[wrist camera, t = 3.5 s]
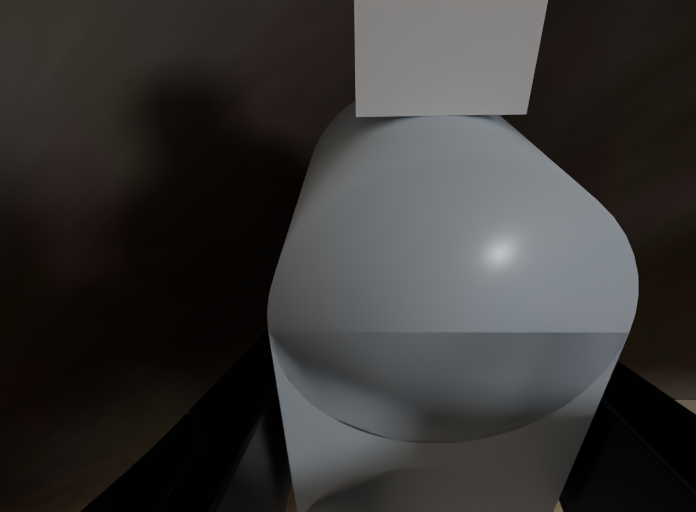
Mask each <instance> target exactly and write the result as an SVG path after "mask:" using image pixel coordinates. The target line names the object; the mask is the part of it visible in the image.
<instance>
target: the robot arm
mask: <svg viewBox="0 0 696 512" xmlns="http://www.w3.org/2000/svg"><path fill="white" fill-rule="evenodd" d="M291 481H292V477H291V470H290V464H289V458H288V452H287V445H286V439H285V433H284V426H283V420H282V414H281V408H280V401H279V395H278V389H277V383H276V376H275V370H274V364H273V357H272V351H271V345H270V339H269V332H268V329H267V330H266V331H265V332H264V333H263V334H262V335H261V337H260V338H259V339H258V340H257V341H256V342H255V343H254V344H253V345H252V346H251V347H250V348H249V349H248V350H247V351H246V352H245V353H244V354H243V355H242V356H241V357H240V358H239V359H238V360H237V361H236V363H235V364H234V365H233V366H232V367H231V368H230V369H229V370H228V371H227V372H226V373H225V374H224V375H223V376H222V377H221V378H220V379H219V380H218V381H217V382H216V383H215V384H214V385H213V386H212V387H211V388H210V390H209V391H208V392H207V393H206V394H205V395H204V396H203V397H202V398H201V399H200V400H199V401H198V402H197V403H196V404H195V405H194V406H193V407H192V408H191V409H190V410H189V414H185V415H184V416H183V417H182V418H181V419H180V420H179V421H178V423H177V424H176V425H175V426H174V427H173V428H172V429H171V430H170V431H169V432H168V433H167V434H166V435H165V436H164V437H163V438H162V439H161V440H160V441H159V442H158V443H157V444H156V445H155V446H154V447H152V448H151V449H150V450H149V451H148V452H147V453H146V454H145V455H144V456H143V457H142V458H141V459H139V460H138V461H137V462H136V463H135V464H134V465H133V466H132V467H131V468H130V469H128V470H127V471H126V472H125V473H124V474H123V475H122V476H121V477H119V478H118V479H117V480H116V481H115V482H114V483H113V484H111V485H110V486H109V487H108V488H107V489H106V490H105V491H103V492H102V493H101V494H100V495H99V496H98V497H96V498H95V499H94V500H93V501H92V502H91V503H90V504H88V505H87V506H86V507H85V508H84V509H83V510H82V511H80V512H285V509H286V505H287V500H288V495H289V490H290V485H291ZM559 502H560V505H561V508H562V510H563V512H696V414H694V413H693V412H692V411H690V410H689V409H687V408H686V407H684V406H683V405H681V404H680V403H678V402H677V401H675V400H674V399H673V398H671V397H670V396H668V395H667V394H665V393H664V392H662V391H661V390H659V389H658V388H657V387H655V386H654V385H652V384H651V383H649V382H648V381H646V380H645V379H643V378H642V377H641V376H639V375H638V374H636V373H635V372H633V371H632V370H630V369H629V368H627V367H626V366H625V365H623V364H622V363H620V362H619V361H617V363H616V365H615V367H614V370H613V372H612V374H611V377H610V379H609V381H608V384H607V386H606V388H605V391H604V393H603V396H602V398H601V400H600V403H599V405H598V407H597V410H596V412H595V414H594V417H593V419H592V421H591V424H590V426H589V428H588V431H587V433H586V436H585V438H584V440H583V443H582V445H581V447H580V450H579V452H578V454H577V457H576V459H575V461H574V464H573V466H572V468H571V471H570V473H569V476H568V478H567V480H566V483H565V485H564V487H563V490H562V492H561V494H560V497H559Z"/></svg>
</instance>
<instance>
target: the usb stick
mask: <svg viewBox="0 0 696 512" xmlns="http://www.w3.org/2000/svg"><path fill="white" fill-rule="evenodd" d="M547 3H548V0H354V11H355V86H356V100H355V101H354V102H352V103H351V104H350V105H348V106H347V107H345V108H344V109H343V110H342V111H341V112H340V113H339V114H338V115H337V116H336V117H335V118H334V119H333V120H332V122H331V123H330V124H329V125H328V127H327V128H326V129H325V131H324V132H323V134H322V136H321V137H320V139H319V141H318V143H317V145H316V147H315V150H314V152H313V154H312V158H311V161H310V164H309V167H308V170H307V173H306V177H305V180H304V183H303V186H302V189H301V192H300V196H299V199H298V202H297V205H296V208H295V211H294V215H293V218H292V221H291V224H290V227H289V230H288V233H287V237H286V240H285V243H284V246H283V249H282V252H281V256H280V259H279V262H278V265H277V268H276V271H275V275H274V278H273V282H272V285H271V289H270V293H269V299H268V310H267V319H268V332H269V339H270V345H271V351H272V357H273V364H274V370H275V376H276V383H277V389H278V395H279V401H280V408H281V414H282V420H283V426H284V433H285V439H286V445H287V452H288V458H289V464H290V470H291V477H292V483H293V489H294V495H295V502H296V508H297V512H553V511H554V509H555V506H556V504H557V501H558V499H559V497H560V494H561V492H562V490H563V487H564V485H565V483H566V480H567V478H568V476H569V473H570V471H571V468H572V466H573V464H574V461H575V459H576V457H577V454H578V452H579V450H580V447H581V445H582V443H583V440H584V438H585V436H586V433H587V431H588V428H589V426H590V424H591V421H592V419H593V417H594V414H595V412H596V410H597V407H598V405H599V403H600V400H601V398H602V396H603V393H604V391H605V388H606V386H607V384H608V381H609V379H610V377H611V374H612V372H613V370H614V367H615V365H616V363H617V360H618V358H619V356H620V353H621V351H622V348H623V346H624V344H625V341H626V339H627V337H628V334H629V332H630V329H631V326H632V323H633V320H634V317H635V314H636V308H637V301H638V295H639V290H638V271H637V267H636V262H635V257H634V254H633V251H632V249H631V246H630V244H629V242H628V239H627V237H626V235H625V233H624V232H623V230H622V229H621V227H620V226H619V224H618V223H617V221H616V220H615V218H614V217H613V216H612V215H611V214H610V213H609V212H608V211H607V210H606V209H605V208H604V207H603V206H602V205H601V204H600V203H599V202H598V200H596V199H595V198H594V197H593V196H592V195H591V194H589V193H588V192H587V191H586V190H585V189H584V188H583V187H581V186H580V185H579V184H578V183H577V182H576V181H574V180H573V179H572V178H571V177H570V176H569V175H568V174H566V173H565V172H564V171H563V170H562V169H561V168H560V167H558V166H557V165H556V164H555V163H554V162H553V161H551V160H550V159H549V158H548V157H547V156H546V155H545V154H543V153H542V152H541V151H540V150H539V149H538V148H536V147H535V146H534V145H533V144H532V143H531V142H530V141H528V140H527V139H526V138H525V137H524V136H523V135H521V134H520V133H519V132H518V131H517V130H516V129H515V128H513V127H512V126H511V125H510V124H509V123H508V122H506V121H505V120H504V119H503V118H502V117H501V116H500V115H508V114H526V113H527V108H528V103H529V97H530V92H531V87H532V82H533V76H534V71H535V66H536V61H537V55H538V50H539V45H540V40H541V34H542V29H543V24H544V19H545V13H546V8H547Z"/></svg>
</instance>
